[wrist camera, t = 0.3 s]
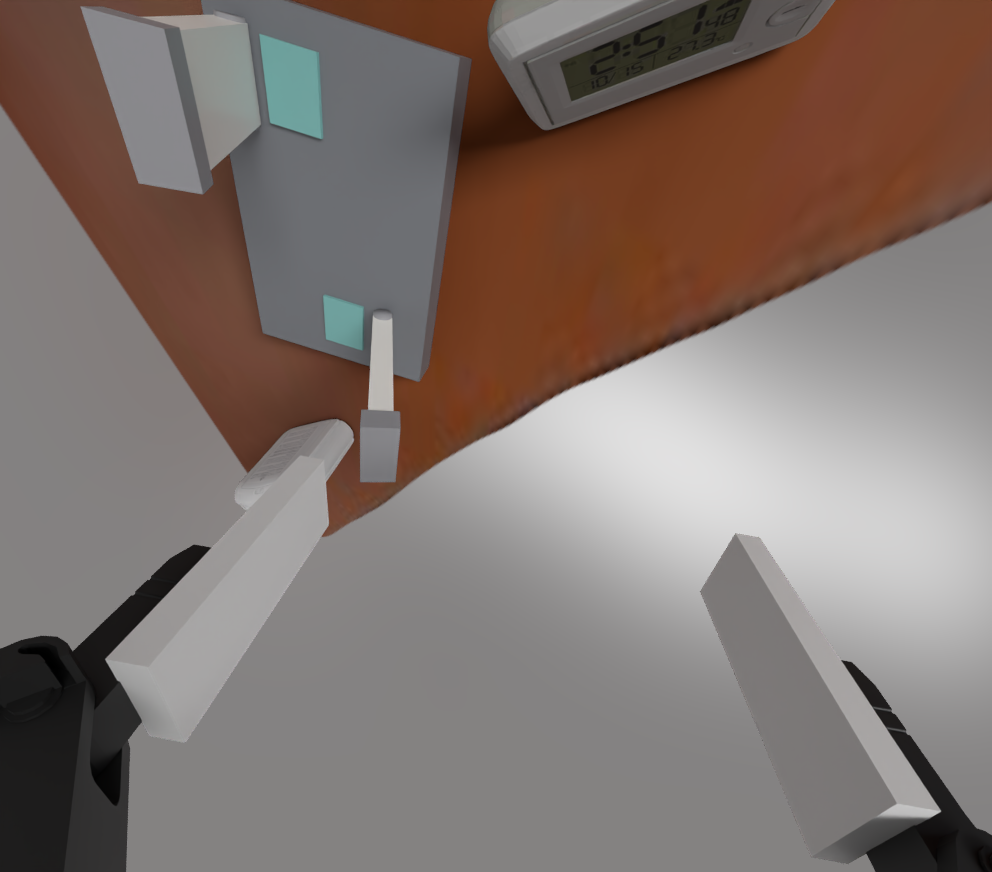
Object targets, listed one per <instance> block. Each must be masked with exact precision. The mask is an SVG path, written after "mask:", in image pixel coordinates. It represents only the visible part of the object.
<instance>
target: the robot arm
mask: <svg viewBox="0 0 992 872" xmlns="http://www.w3.org/2000/svg"><path fill="white" fill-rule="evenodd" d="M328 525H329V519H328V506H327V493H326V480H325V466H324V460H323V459H318V458H312V457H306V456H301V455H300V456H299V457H298V458H297V459H296V460H295V461H294V462H293V463H292V464H291V465H290V466H289V468H288V469H287V470H286V471H285V472H284V473H283V474H282V475H281V476H280V477H279V478H278V479H277V480H276V481H275V482H274V483H273V484H272V485H271V486H270V487H269V488H268V489H267V491H266V492H265V493H264V494H263V495H262V496H261V497H260V498H259V499H258V500H257V501H256V502H255V503H254V504H253V505H252V506H251V507H250V508H249V509H248V510H247V511H246V513H245V514H244V515H243V516H242V517H241V518H240V519H239V520H238V521H237V522H236V523H235V524H234V525H233V526H232V527H231V528H230V529H229V530H228V531H227V532H226V533H225V534H224V536H223V537H222V538H221V539H220V540H219V541H218V542H217V543H216V544H215V545H214V546H213V547H212V548H210V547H205V546H199V545H192V546H191V547H189V548H187V549H186V550H184V551H182V552H180V553H179V554H177V555H175V556H173V557H172V558H170V559H169V560H168V561H167V562H166V563H165V564H164V565H163V566H162V567H161V568H160V569H158V570H157V571H156V572H155V573H154V574H153V575H152V576H151V579H150V580H147V581H146V582H145V583H144V584H143V585H142V586H141V587H140V588H139V589H138V590H137V591H136V593H135V595H133V596H130V597H129V598H128V599H127V600H126V601H125V602H124V603H123V604H122V605H121V606H120V607H119V608H118V609H117V610H116V611H115V612H113V613H112V614H111V615H110V616H109V617H108V618H107V619H106V620H105V621H104V622H103V623H102V624H101V625H100V626H99V627H98V628H97V629H96V630H95V631H94V632H93V633H92V634H90V635H89V636H88V637H87V638H86V639H85V640H84V641H83V642H82V643H81V644H80V645H79V646H78V647H77V648H76V649H75V650H74V651H72V650H71V648H70V647H69V645H68V644H67V643H66V642H65V641H63V640H61V639H60V638H58V637H52V636H39V637H34V638H29V639H24V640H21V641H18V642H16V643H13V644H11V645H9V646H6V647H4V648H1V649H0V872H126V855H127V854H126V852H127V823H128V793H129V762H130V747H129V743H128V739H129V738H130V736H131V735H132V734H133V732H134V731H135V730H136V728H137V727H138V726H139V725H140V723H142V724H143V726H144V728H145V730H146V731H147V733H148V735H149V736H152V737H158V738H163V739H168V740H174V741H179V742H184V743H185V742H186V741H187V739H188V738H189V736H190V735H191V733H192V732H193V730H194V729H195V727H196V726H197V724H198V723H199V721H200V720H201V718H202V717H203V715H204V713H205V712H206V710H207V709H208V708H209V706H210V705H211V703H212V702H213V700H214V698H215V697H216V695H217V694H218V692H219V691H220V689H221V688H222V686H223V685H224V683H225V682H226V680H227V679H228V677H229V675H230V674H231V673H232V671H233V670H234V668H235V666H236V665H237V664H238V662H239V660H240V659H241V657H242V656H243V654H244V653H245V651H246V650H247V648H248V647H249V645H250V644H251V642H252V641H253V639H254V638H255V636H256V635H257V633H258V632H259V630H260V629H261V627H262V626H263V624H264V623H265V621H266V620H267V618H268V616H269V615H270V613H271V612H272V610H273V609H274V607H275V606H276V604H277V603H278V601H279V600H280V598H281V597H282V595H283V594H284V592H285V591H286V589H287V587H288V586H289V585H290V583H291V582H292V580H293V579H294V577H295V575H296V574H297V572H298V571H299V569H300V568H301V566H302V565H303V563H304V562H305V560H306V559H307V557H308V556H309V554H310V553H311V551H312V550H313V548H314V546H315V545H316V544H317V542H318V541H319V539H320V538H321V536H322V534H323V533H324V531H325V530H326V528H327V527H328ZM700 592H701V595H702V597H703V599H704V602H705V604H706V607H707V609H708V611H709V614H710V616H711V619H712V621H713V623H714V626H715V628H716V630H717V633H718V635H719V638H720V640H721V643H722V645H723V647H724V650H725V652H726V654H727V657H728V659H729V662H730V664H731V667H732V669H733V671H734V674H735V676H736V679H737V681H738V683H739V686H740V688H741V690H742V693H743V695H744V697H745V700H746V703H747V705H748V707H749V710H750V712H751V715H752V717H753V719H754V722H755V724H756V726H757V729H758V731H759V734H760V736H761V738H762V741H763V743H764V746H765V748H766V750H767V753H768V755H769V758H770V760H771V762H772V765H773V767H774V770H775V772H776V774H777V777H778V779H779V781H780V784H781V786H782V789H783V791H784V794H785V796H786V798H787V801H788V803H789V806H790V808H791V810H792V813H793V815H794V817H795V820H796V822H797V825H798V827H799V830H800V832H801V834H802V836H803V839H804V842H805V844H806V846H807V849H808V851H809V854H810V856H811V857H813V858H819V859H824V860H829V861H835V862H840V863H846V864H848V863H850V862H852V861H854V860H856V859H857V858H859V857H861V856H863V855H864V854H867V855H868V858H869V860H870V861H871V863H872V865H873V867H874V869H875V871H876V872H992V835H990V834H989V833H987V832H985V831H983V830H980V829H977V828H976V827H975V826H974V825H973V824H972V822H971V821H970V820H969V818H968V817H967V816H966V815H965V813H964V812H963V810H962V809H961V808H960V806H959V805H958V803H957V802H956V800H955V799H954V797H953V796H952V795H951V793H950V792H949V790H948V789H947V788H946V786H945V785H944V783H943V782H942V780H941V779H940V777H939V776H938V775H937V773H936V772H935V770H934V769H933V767H932V766H931V765H930V763H929V762H928V760H927V759H926V758H925V756H924V755H923V753H922V752H921V750H920V749H919V747H918V746H917V745H916V743H915V742H914V740H913V739H912V737H911V736H910V735H907V734H906V729H905V727H904V726H903V725H902V723H901V722H900V720H899V719H898V717H897V716H896V715H895V714H893V713H892V712H891V710H892V709H891V707H890V706H889V705H888V703H887V702H886V700H885V699H884V697H883V696H882V695H881V693H880V692H879V690H878V689H877V688H876V686H875V685H874V684H873V683H872V682H871V681H870V680H869V679H868V678H867V677H866V676H865V675H864V674H863V673H862V672H861V671H860V670H859V669H858V668H857V667H856V666H855V665H854V664H853V663H852V662H848V661H843V660H840V658H839V657H838V655H837V653H836V652H835V651H834V649H833V647H832V646H831V644H830V643H829V642H828V640H827V638H826V637H825V635H824V634H823V632H822V631H821V629H820V628H819V626H818V625H817V623H816V622H815V620H814V619H813V617H812V616H811V614H810V613H809V611H808V610H807V608H806V607H805V606H804V604H803V602H802V601H801V600H800V598H799V596H798V595H797V593H796V592H795V590H794V589H793V587H792V586H791V584H790V583H789V581H788V580H787V578H786V577H785V575H784V574H783V572H782V571H781V569H780V568H779V566H778V565H777V563H776V562H775V560H774V559H773V557H772V556H771V554H770V553H769V551H768V550H767V548H766V546H765V545H764V544H763V542H762V541H761V539H760V538H759V537H753V536H748V535H742V534H735V535H734V537H733V538H732V540H731V542H730V543H729V545H728V547H727V548H726V550H725V551H724V553H723V555H722V556H721V558H720V560H719V561H718V563H717V565H716V566H715V568H714V570H713V571H712V573H711V575H710V576H709V578H708V580H707V582H706V583H705V584H704V586H703V588H702V589H701V591H700Z"/></svg>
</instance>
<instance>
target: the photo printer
mask: <svg viewBox="0 0 992 872" xmlns="http://www.w3.org/2000/svg"><path fill="white" fill-rule="evenodd" d="M353 436H354V434H353V431H352V429H351V428H350V427H349V426H348V425H347V424H346V423H345V422H343V421H339V419H330V420H325V421H320V422H315V423H311V424H307V425H303V426H299V427H295V428H292V429H290V430H288V431H286V432H285V433H284V434H283V435H282V436H281V437H280V438H279V439H278V440H277V442H276V443H275V444H274V445H273V446H272V447H271V448H270V449H269V450H268V452H267V453H266V454H265V455H264V456H263V457H262V458H261V459H260V461H259V462H258V463H257V464H256V465H255V466H254V467H253V468H252V469H251V470H250V472H249V473H248V474H247V475H246V476H245V477H244V478H243V479H242V480H241V482H240V483H239V484H238V486H237V487H236V490H235V501H236V503H237V504H239V505H241V506H242V508H243V509H244V510H248V509H249V508H250V507H251V506H252V505H253V504H254V503H255V502H256V501H257V500H258V499H259V498H260V497H261V496H262V495H263V494H264V493H265V492H266V491H267V489H268V488H269V487H270V486H271V485H272V484H273V483H274V482H275V481H276V480H277V479H278V478H279V477H280V476H281V475H282V474H283V473H284V472H285V471H286V470H287V469H288V468H289V466H290V465H291V464H292V463H293V462H294V461H295V460H296V459H297V458H298V457H299V456H300V455H301V456H306V457H312V458H318V459H323V460H324V466H325V480H326V481H327V480H328V478H329V477H330V476H331V474H332V473H333V471H334V470H335V468H336V467H337V465H338V464H339V463H340V461H341V460H342V458H343V457H344V455H345V454H346V452H347V451H348V449H349V448H350V447H351V445H352V443H353V441H354V439H353Z"/></svg>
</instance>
